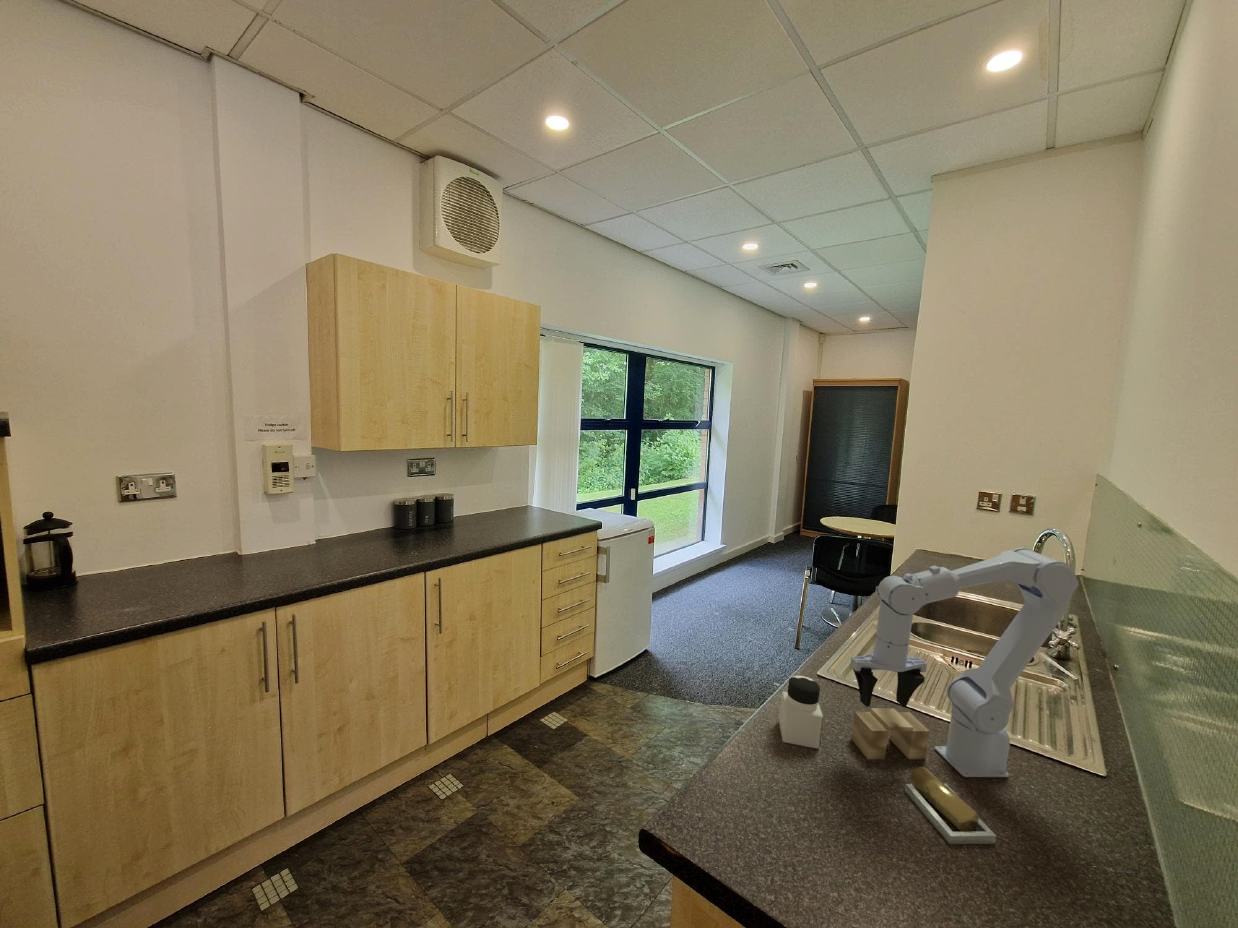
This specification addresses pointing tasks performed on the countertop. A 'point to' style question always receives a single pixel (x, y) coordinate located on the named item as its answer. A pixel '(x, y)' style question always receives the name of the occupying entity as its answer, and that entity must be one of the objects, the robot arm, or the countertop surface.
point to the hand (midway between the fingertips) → (883, 703)
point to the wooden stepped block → (904, 733)
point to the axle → (944, 800)
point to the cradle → (951, 837)
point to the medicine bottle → (801, 713)
